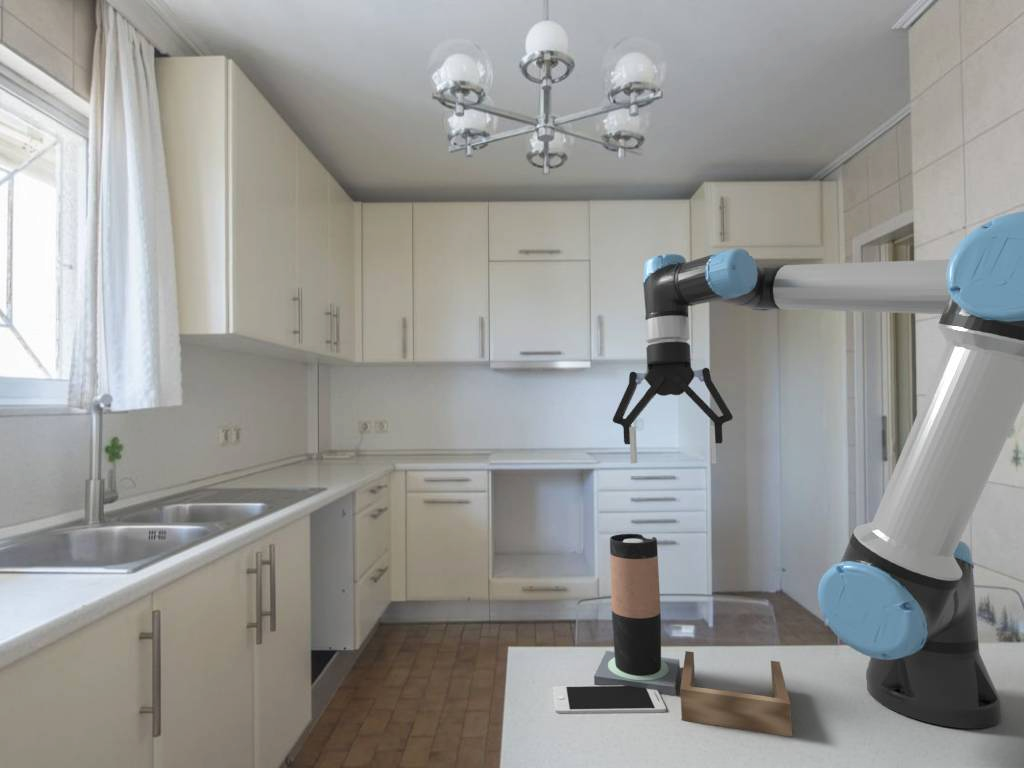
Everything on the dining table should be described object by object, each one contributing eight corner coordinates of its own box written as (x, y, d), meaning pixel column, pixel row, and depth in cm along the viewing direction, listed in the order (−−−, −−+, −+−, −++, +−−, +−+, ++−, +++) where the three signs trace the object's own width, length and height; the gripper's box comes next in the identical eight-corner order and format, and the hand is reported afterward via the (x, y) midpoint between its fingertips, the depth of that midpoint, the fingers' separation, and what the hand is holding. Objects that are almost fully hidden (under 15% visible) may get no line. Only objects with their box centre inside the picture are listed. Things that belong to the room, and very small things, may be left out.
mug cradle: (781, 689, 83) (779, 661, 83) (792, 736, 71) (790, 704, 71) (686, 677, 88) (685, 651, 88) (681, 719, 75) (680, 689, 75)
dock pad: (679, 667, 91) (679, 658, 91) (675, 695, 82) (674, 685, 82) (606, 658, 95) (606, 649, 95) (594, 684, 86) (594, 674, 86)
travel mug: (614, 675, 86) (609, 543, 87) (612, 655, 93) (608, 533, 95) (665, 677, 84) (660, 543, 86) (659, 656, 92) (654, 533, 93)
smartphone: (552, 691, 85) (552, 685, 85) (655, 690, 84) (654, 683, 84) (555, 717, 78) (555, 710, 78) (667, 715, 77) (666, 708, 77)
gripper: (742, 341, 99) (748, 461, 97) (602, 350, 108) (606, 461, 106) (744, 335, 92) (751, 464, 90) (594, 345, 101) (598, 464, 99)
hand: (673, 463), depth 98 cm, fingers open, 13 cm apart
